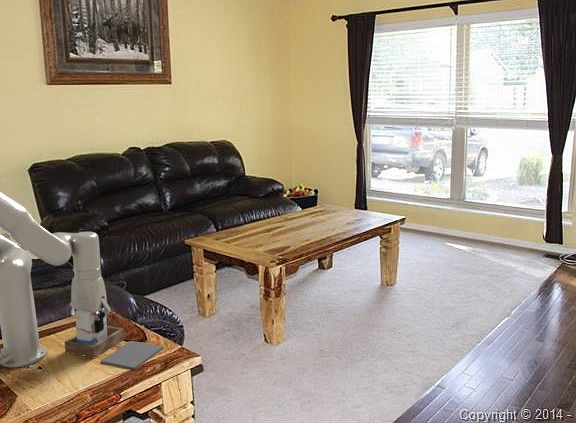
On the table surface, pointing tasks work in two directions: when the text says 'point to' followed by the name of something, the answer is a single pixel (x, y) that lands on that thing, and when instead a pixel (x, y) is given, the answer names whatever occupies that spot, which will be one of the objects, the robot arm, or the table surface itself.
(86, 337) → the ink box
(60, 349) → the table surface
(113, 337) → the frame
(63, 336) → the table surface
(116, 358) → the rubber mat
